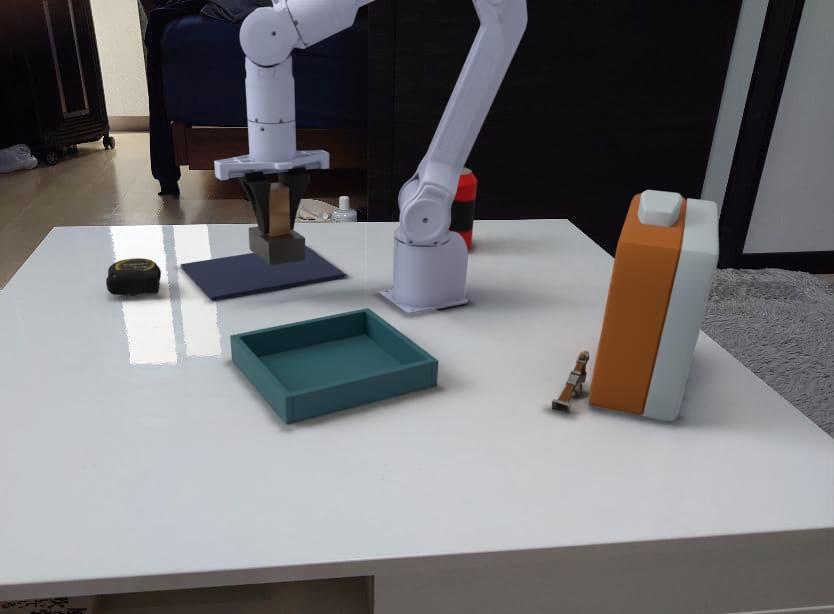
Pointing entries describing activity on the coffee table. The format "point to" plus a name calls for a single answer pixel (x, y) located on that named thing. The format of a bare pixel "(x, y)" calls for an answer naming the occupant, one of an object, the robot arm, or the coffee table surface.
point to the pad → (257, 274)
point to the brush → (278, 232)
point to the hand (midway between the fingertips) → (275, 229)
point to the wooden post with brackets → (573, 383)
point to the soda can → (464, 206)
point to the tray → (331, 364)
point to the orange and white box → (655, 304)
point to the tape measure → (133, 277)
